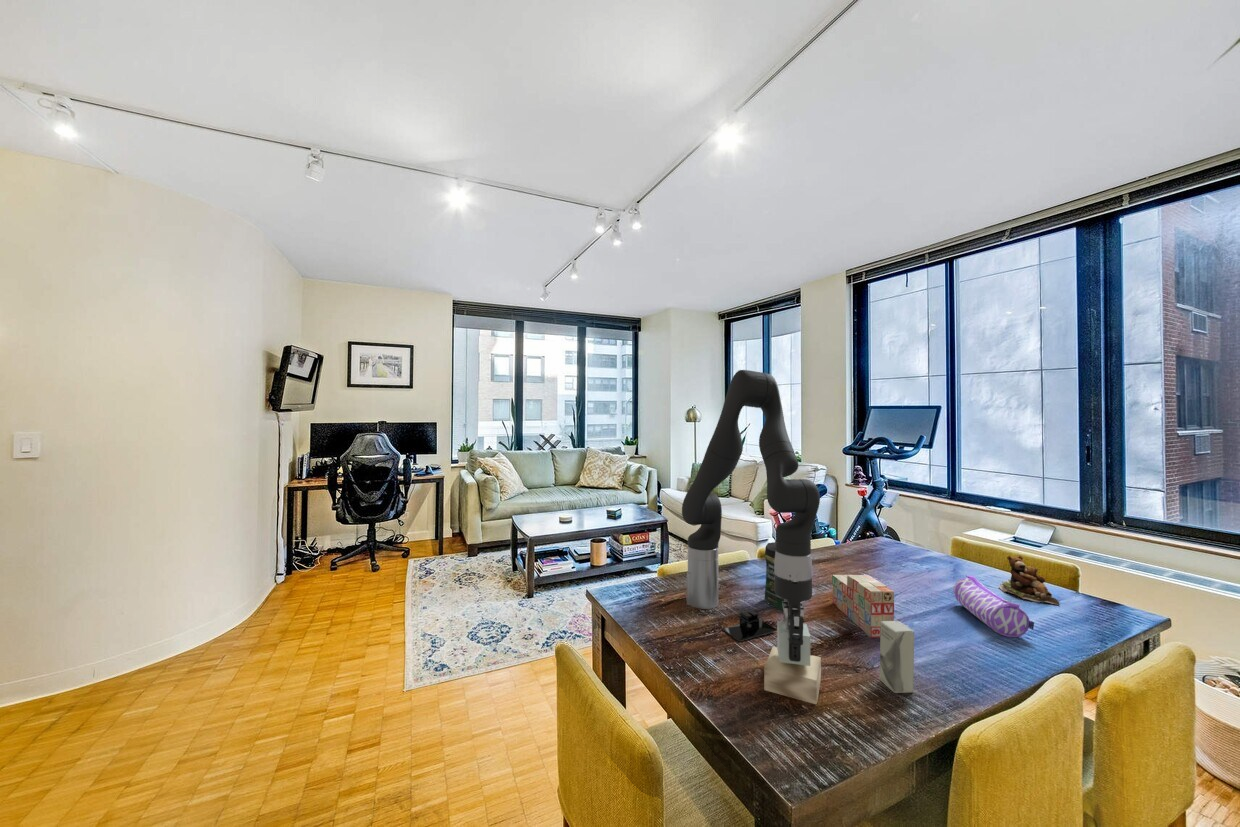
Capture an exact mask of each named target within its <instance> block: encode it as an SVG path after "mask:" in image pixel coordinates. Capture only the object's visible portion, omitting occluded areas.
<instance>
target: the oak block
mask: <svg viewBox="0 0 1240 827" xmlns="http://www.w3.org/2000/svg"><path fill="white" fill-rule="evenodd" d="M763 668H764V670H763V671H764V672H763V674H764V678H763V681H764V684H763V685H764V686H763V687H764V688H763V689H764V691H766V692H770V693H773V694H778V695H781V696H784V697H788V698H792V699H795V700H799V701H802V702H803V701H804V702H806V703H809V704H813V705H817V704H818V699H819V691H820V687H821V681H822V657H821V656H816V655H811V654H810V666H806V665H798V664H791V663H784V662H779V656H778V650H777V646H772V648H771V650H770V652H769V655H768V657H767V660H766V662H765V665H764V666H763Z"/></svg>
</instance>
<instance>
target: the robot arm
mask: <svg viewBox="0 0 1240 827" xmlns="http://www.w3.org/2000/svg"><path fill="white" fill-rule="evenodd" d="M781 400H782V399H781V395H780V389H779V385H778V382H777V381H776V378H775V377H774V376H773V375H772V374H769V373H768V372H767V373H766V372H761V371H753V370H749V369H739V370H738V371H736V372H735V374H734V375H733V376H732V378H731V380H730V383H729V385H728V389H727V391H726V395H725V399H724V402H723V406H722V410H721V413H720V416H719V418H718V421H717V424H716V426H715V429H714V431H713V434H712V436H711V439H710V441H709V442H708V446H707V447H706V451H705V453H704V456H703V458H702V459H703V460H702V462H701V464H700V466H699V469H698V471H697V472H696V473H697V474H696V475H695V478H694V480H693V481H692V484H691V485H690V487H689V489H688V491H687V492H686V494H685V495H684V499H683V502H682V505H681V516H682V519H683V520H684V522H685V523H686V524H688V525H691V526H699V525H700V526H699V528H698V529H697V530H695V532H693V533H691V534H690V535H689V536H688V537H687V571H686V605H687V606H690V607H693V608H696V609H702V610H711V609H712V610H713V609H715V608H717V607H718V606H719V599H720V598H719V542H720V539H721V535H722V534H721V533H722V518H723V517H722V516H723V515H722V514H723V511H722V504H721V500H720V498H719V496H718V495H717V494H715V493H712V492H713V491H714V489H716V488H717V487H718V486H719V485H720V484H721V483H723V481H725V480H726V479H727V478H728V477H730V476H731V474H732V473H733V472H734V471H735V469H736V467H737V465H738V463H739V461H740V458H741V457H742V453H743V449H744V446H743V439H742V436H741V432H740V429H739V418H740V414H741V411H742V409H743V408H744V407H747V408H748V407H749V408H755V409H760V410H761V412H763V416H764V419H765V420H764V424H763V427H762V429H761V432H760V435H759V438H758V445H759V452H760V454H761V457H762V461H763V463H764V467H765V471H766V472H765V473H766V500H767V503H768V504H769V507H770V508H771V509H772V510H773V511H775V512H777V513H778V514H789V513H791V514H792V513H794V515H793V518H792V519H790V520H787V521H784V522H782V523H779V524H778V525H776V528H775V542H776V553H775V561H774V591H775V594H776V595H777V596H779V597H780V598H783V599H784V601H783V603H782V605H783V610H782V616H783V620H784V621H785V627H786V629H787V630H788V640H789V659H790V660H791V661H796V662H799V661H800V660H801V645H803V630H804V628H803V624H804V616H805V608H804V607H803V602H807V601H810V600H811V599H812V597H813V562H812V553H811V552H812V548H811V546H812V544H811V541H812V540H811V539H812V538H811V536H812V532H813V529H814V525H815V520H816V516H817V514H818V511H819V507H820V504H821V503H820V502H821V497H820V496H821V495H820V491H819V488H818V486H817V484H816V483H815V482H814V481H812V480H810V479H806V478H805V479H804V478H802V479H801V478H799V479H795V478H794V479H792V478H791V479H785V478H787V477H789V476H792V475H793V474H794V473H796V472H797V471H798V469H799V461H798V458H797V456H796V453H795V450H794V448H793V446H792V442H791V440H790V438H789V435H788V431H787V428H786V427H787V426H786V423H785V418H784V417H785V415H784V410H783V405H782V401H781ZM788 623H789V624H790V625H789V624H788ZM793 634H798V637H793V636H792V635H793Z"/></svg>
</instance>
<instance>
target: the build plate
mask: <svg viewBox="0 0 1240 827" xmlns="http://www.w3.org/2000/svg"><path fill="white" fill-rule="evenodd" d="M739 614H740V615H739V619H738V620H739V623H738V624H733V625H730V626H726V627H723V628H722V631H723V632H725V633H727V635H730V636H731V638H732V637H733V638H734V639H735V640H736V641H738V642H742V641H746V640H749V639H753V638H757V637H760V636H763V635H764V636H765V635H767V634H771V633H774V632H777V628H775V627H774V626H772V625H771V624H769V623H767V622H765V621H764V620H762V619H760V616H759V613H757V612H755V611H754V610H752V609H748V610H744V611H741V612H740V613H739Z"/></svg>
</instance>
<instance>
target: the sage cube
mask: <svg viewBox="0 0 1240 827" xmlns="http://www.w3.org/2000/svg"><path fill="white" fill-rule="evenodd" d="M776 624H777V626H776V629H777V631H776V633H777V634H776V635H777V636H776V637H777V638H776V642H777V643H776V644H777V645H776V647H777V650H778V656H779V662H784V663H791V664H798V665H806V666H810V655H811V634H810V630H809V628H808V625H807V623H803V628H804V630H803V645H801V660H800V661H799V662H796V661H791V660H790V659H789V640H788V630H787V629H786V627H785V620H784V621H783V620H776ZM788 624H789V623H788ZM789 625H790V624H789ZM792 636H793V637H798V634H793V635H792Z"/></svg>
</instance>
